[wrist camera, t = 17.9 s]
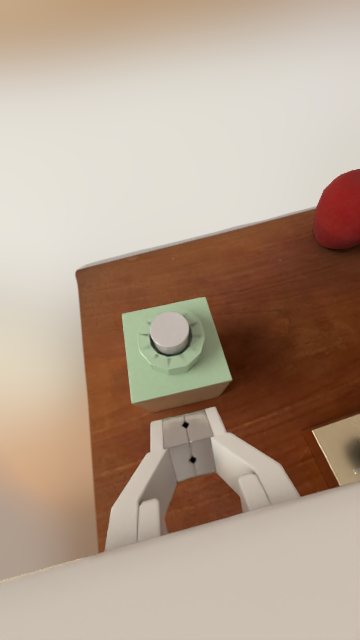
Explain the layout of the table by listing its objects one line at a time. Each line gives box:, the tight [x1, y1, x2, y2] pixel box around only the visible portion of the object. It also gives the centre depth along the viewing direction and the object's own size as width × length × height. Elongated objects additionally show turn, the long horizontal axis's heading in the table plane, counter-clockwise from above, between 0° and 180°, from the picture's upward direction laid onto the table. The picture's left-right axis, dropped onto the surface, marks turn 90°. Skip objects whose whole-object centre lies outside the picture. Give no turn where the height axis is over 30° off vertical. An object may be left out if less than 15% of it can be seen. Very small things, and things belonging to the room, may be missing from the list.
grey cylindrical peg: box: [150, 312, 189, 354], centre depth 21 cm, size 4×4×2 cm
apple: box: [312, 169, 360, 249], centre depth 39 cm, size 12×12×13 cm
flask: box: [122, 297, 232, 413], centre depth 28 cm, size 10×10×14 cm
